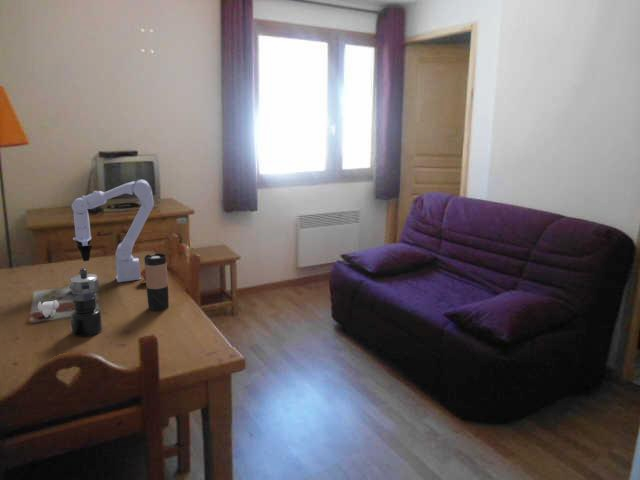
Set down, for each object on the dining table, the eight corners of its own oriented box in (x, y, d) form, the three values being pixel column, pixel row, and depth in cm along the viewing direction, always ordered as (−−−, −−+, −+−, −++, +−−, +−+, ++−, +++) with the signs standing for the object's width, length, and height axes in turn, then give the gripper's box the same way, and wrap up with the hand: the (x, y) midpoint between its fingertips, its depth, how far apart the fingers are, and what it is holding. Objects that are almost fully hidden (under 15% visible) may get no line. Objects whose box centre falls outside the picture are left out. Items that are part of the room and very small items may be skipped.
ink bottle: (95, 323, 173) (92, 290, 170) (108, 330, 167) (105, 296, 164) (66, 332, 165) (62, 298, 162) (79, 340, 160) (75, 305, 157)
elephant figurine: (36, 321, 174) (34, 305, 172) (42, 312, 181) (40, 297, 180) (57, 319, 175) (55, 303, 174) (62, 311, 183) (60, 295, 181)
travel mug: (163, 312, 183) (159, 259, 178) (144, 310, 184) (139, 258, 179) (173, 304, 190) (169, 254, 185) (154, 303, 192) (151, 252, 187)
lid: (97, 276, 208) (96, 264, 207) (97, 284, 200) (96, 271, 198) (71, 279, 205) (70, 267, 203) (70, 286, 196) (69, 274, 195)
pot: (96, 280, 216) (94, 269, 214) (100, 295, 199) (99, 283, 197) (70, 284, 211) (68, 272, 210) (72, 299, 194) (71, 287, 193)
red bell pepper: (143, 291, 210) (162, 276, 210) (131, 278, 209) (150, 263, 209) (147, 287, 217) (165, 273, 217) (136, 274, 216) (154, 260, 216)
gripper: (70, 224, 213) (74, 255, 216) (72, 231, 200) (76, 264, 204) (89, 223, 216) (92, 253, 219) (91, 230, 204) (95, 262, 207)
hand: (85, 258), depth 212 cm, fingers open, 7 cm apart
